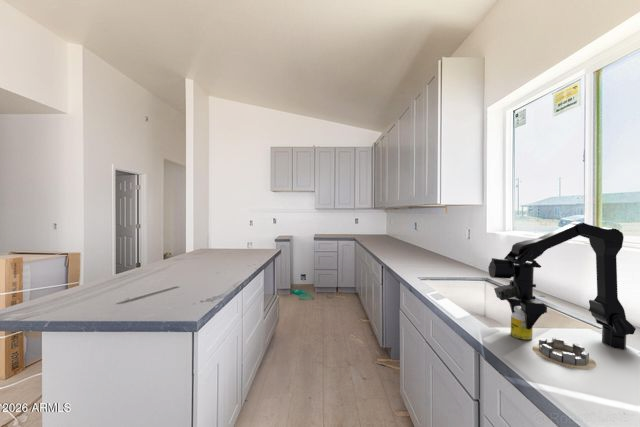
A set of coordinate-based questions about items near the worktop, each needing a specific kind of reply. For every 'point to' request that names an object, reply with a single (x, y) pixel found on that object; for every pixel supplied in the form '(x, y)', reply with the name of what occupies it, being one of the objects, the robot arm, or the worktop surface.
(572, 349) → the castellated collar
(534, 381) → the worktop surface
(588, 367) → the flange plate
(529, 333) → the pill bottle
